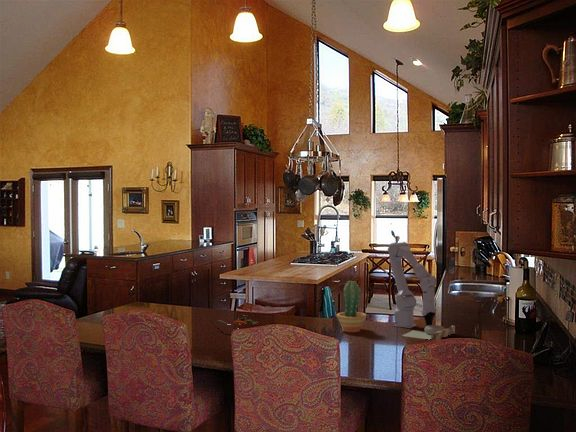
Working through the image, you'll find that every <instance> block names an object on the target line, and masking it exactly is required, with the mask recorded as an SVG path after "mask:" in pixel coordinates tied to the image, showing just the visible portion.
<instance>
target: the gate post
mask: <svg viewBox="0 0 576 432" xmlns="http://www.w3.org/2000/svg"><path fill="white" fill-rule="evenodd" d="M450 327H453V334H456V326H455V325H453V324H452V325H450Z"/></svg>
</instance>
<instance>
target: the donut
mask: <svg viewBox="0 0 576 432" xmlns="http://www.w3.org/2000/svg"><path fill="white" fill-rule="evenodd" d="M444 329H446V328H445V327H444V326H443V325H442V326H441V325H435V324H432V325H428V326H427V325H425V327H424V332H426V333H427V334H431V333H435V332H438V331H441V330H444Z"/></svg>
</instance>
